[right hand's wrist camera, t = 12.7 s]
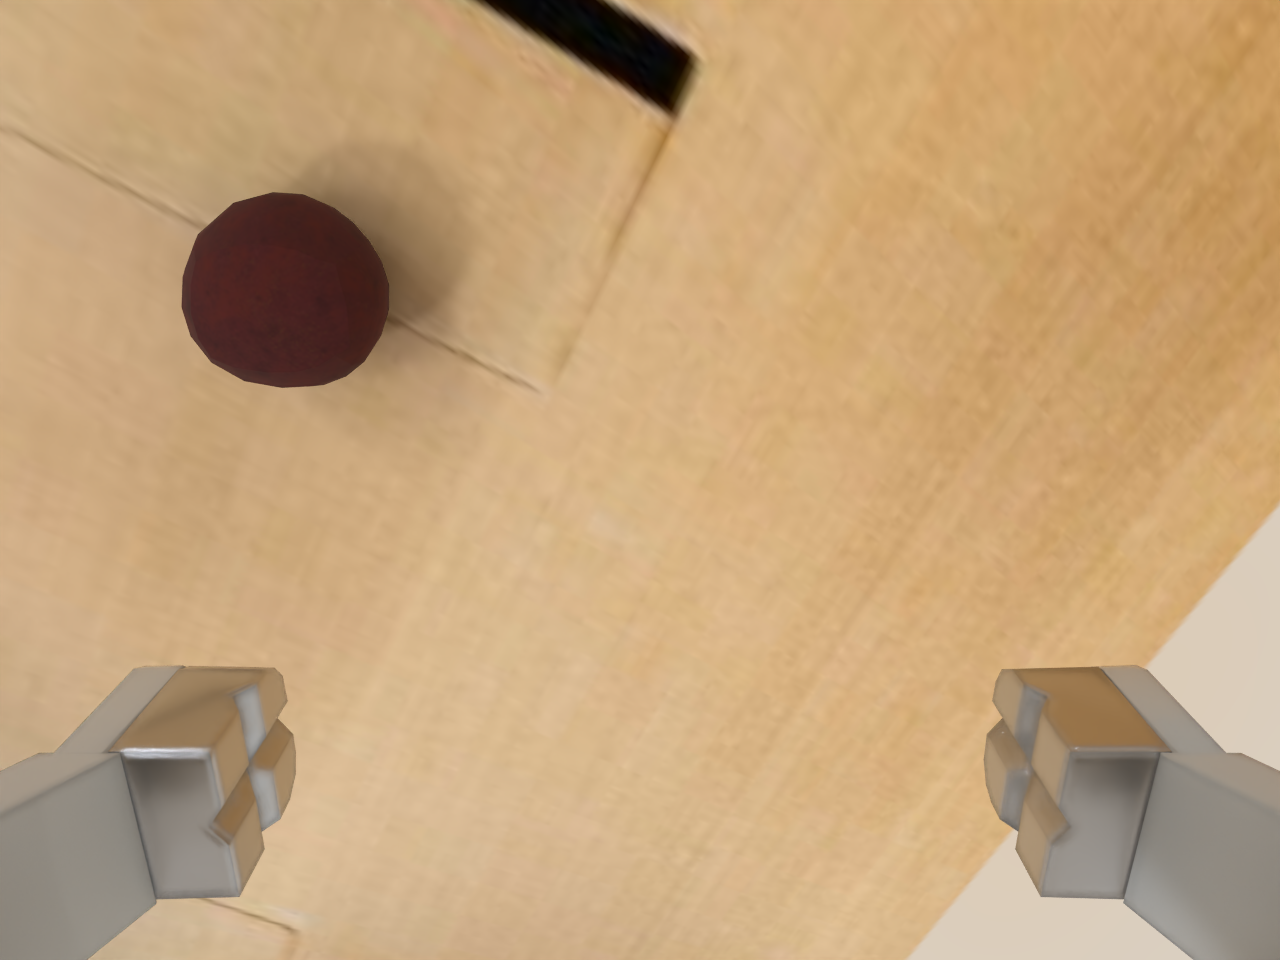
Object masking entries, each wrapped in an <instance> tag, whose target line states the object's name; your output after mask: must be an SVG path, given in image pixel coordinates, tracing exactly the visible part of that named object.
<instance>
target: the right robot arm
mask: <svg viewBox="0 0 1280 960" xmlns="http://www.w3.org/2000/svg"><path fill="white" fill-rule="evenodd" d="M287 701H288V700H287V695H286V691H285V686H284V681H283V676H282V675H281V674H280V673H279V672H278V671H277V670H276V669H275V668H263V667H213V666H188V667H185V666H144V667H139V668H135V669H133V670H132V671H131V672H130V673H129V674H128V675H127V676H126V677H125V679H124V680H123V681H122V682H121V683H120V684H119V685H118V686H117V687H116V688H115V689H114V690H113V691H112V692H111V693H110V694H109V695H108V696H107V697H106V699H105V700H104V701H103V702H102V703H101V704H100V705H99V706H98V707H97V708H96V709H95V710H94V711H93V712H92V713H91V714H90V715H89V716H88V717H87V719H86V720H85V721H84V722H83V723H82V724H81V725H80V726H79V727H78V728H77V729H76V730H75V731H74V732H73V733H72V734H71V735H70V736H69V737H68V739H67V740H66V741H65V742H64V743H63V744H62V745H61V746H60V747H59V748H58V749H57V750H56V751H55V752H54V753H38V754H36V755H34V756H32V757H29V758H27V759H25V760H23V761H21V762H19V763H17V764H14V765H12V766H10V767H8V768H6V769H4V770H2V771H0V960H87V959H88V958H90V957H91V956H92V955H93V954H95V953H96V952H97V951H98V950H99V949H101V948H102V947H103V946H104V945H106V944H107V943H108V942H109V941H111V940H112V939H113V938H114V937H116V936H117V935H118V934H119V933H121V932H122V931H123V930H124V929H126V928H127V927H128V926H129V925H130V924H132V923H133V922H134V921H135V920H137V919H138V918H139V917H140V916H142V915H143V914H144V913H145V912H147V911H148V910H149V909H150V908H152V907H153V906H154V905H155V904H156V899H181V898H216V897H240V895H241V893H242V891H243V889H244V887H245V885H246V883H247V881H248V880H249V878H250V876H251V874H252V872H253V870H254V868H255V866H256V864H257V863H258V861H259V859H260V857H261V855H262V853H263V851H264V843H263V837H262V831H263V830H265V829H266V828H268V827H269V826H271V825H272V824H274V823H275V822H277V821H278V820H280V819H281V817H282V815H283V812H284V810H285V808H286V806H287V804H288V802H289V800H290V797H291V792H292V788H293V783H294V779H295V774H296V751H295V744H294V737H293V734H292V733H291V732H290V731H289V730H288V729H287V728H286V727H285V725H284V724H283V723H282V722H281V721H280V720H279V719H278V716H279V714H280V713H281V711H282V709H283V708H284V706H285V704H286V703H287ZM992 701H993V703H994V704H995V706H996V708H997V709H998V711H999V713H1000V714H1001V716H1002V719H1001V720H1000V721H999V722H998V723H997V724H996V725H995V726H994V728H993V729H992V730H991V731H990V732H989V733H988V734H987V738H986V746H985V753H984V768H985V779H986V786H987V789H988V793H989V796H990V799H991V803H992V805H993V807H994V809H995V811H996V813H997V815H998V817H999V819H1000V820H1002V821H1003V822H1005V823H1006V824H1008V825H1009V826H1011V827H1012V828H1014V829H1015V830H1017V831H1018V837H1017V843H1016V851H1017V853H1018V855H1019V857H1020V859H1021V861H1022V862H1023V864H1024V866H1025V868H1026V870H1027V872H1028V874H1029V876H1030V878H1031V879H1032V881H1033V883H1034V885H1035V887H1036V889H1037V891H1038V893H1039V894H1040V896H1041V897H1062V898H1098V899H1124V902H1123V903H1124V904H1125V905H1126V906H1128V907H1129V908H1130V909H1131V910H1133V911H1134V912H1135V913H1136V914H1138V915H1139V916H1140V917H1141V918H1142V919H1144V920H1145V921H1146V922H1147V923H1149V924H1150V925H1151V926H1152V927H1154V928H1155V929H1156V930H1157V931H1159V932H1160V933H1161V934H1162V935H1164V936H1165V937H1166V938H1167V939H1168V940H1170V941H1171V942H1172V943H1173V944H1175V945H1176V946H1177V947H1178V948H1180V949H1181V950H1182V951H1183V952H1185V953H1186V954H1187V955H1188V956H1190V957H1191V958H1192V959H1193V960H1280V771H1278V770H1276V769H1274V768H1272V767H1270V766H1268V765H1265V764H1263V763H1261V762H1259V761H1257V760H1255V759H1253V758H1251V757H1248V756H1246V755H1244V754H1242V753H1226V752H1225V751H1224V750H1223V749H1222V748H1221V747H1220V746H1219V745H1218V744H1217V743H1216V742H1215V741H1214V740H1213V738H1212V737H1211V736H1210V735H1209V734H1208V733H1207V732H1206V731H1205V730H1204V729H1203V728H1202V727H1201V726H1200V725H1199V724H1198V723H1197V722H1196V721H1195V719H1194V718H1193V717H1192V716H1191V715H1190V714H1189V713H1188V712H1187V711H1186V710H1185V709H1184V708H1183V707H1182V706H1181V705H1180V704H1179V703H1178V702H1177V700H1176V699H1175V698H1174V697H1173V696H1172V695H1171V694H1170V693H1169V692H1168V691H1167V690H1166V689H1165V688H1164V687H1163V686H1162V685H1161V684H1160V683H1159V682H1158V680H1157V679H1156V678H1155V677H1154V676H1153V675H1152V674H1151V673H1150V672H1149V671H1148V670H1146V669H1144V668H1142V667H1139V666H1137V665H1125V666H1098V667H1074V668H1033V669H1002V670H1001V672H1000V674H999V676H998V678H997V680H996V683H995V689H994V695H993V700H992Z"/></svg>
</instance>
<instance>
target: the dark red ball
mask: <svg viewBox="0 0 1280 960" xmlns="http://www.w3.org/2000/svg"><path fill="white" fill-rule="evenodd" d="M182 310H183V313H184V316H185V319H186V323H187V326H188V329H189V332H190V335H191V337H192V338H193V340H194V341H195V342H196V343H197V345H198V346H199V347H200V349H201V350H202V351H203V352H204V354H205V355H206V356H207V357H208V359H209V360H210V361H211V362H212V363H213V364H215V365H217V366H219V367H220V368H222V369H224V370H226V371H227V372H229V373H231V374H233V375H235V376H236V377H238V378H240V379H242V380H244V381H247V382H253V383H258V384H264V385H270V386H275V387H281V388H285V387H304V386H317V385H325V384H327V383H330V382H332V381H335V380H338V379H340V378H343V377H345V376H347V375H348V374H349V373H351V372H352V371H353V370H354V369H356V368H357V367H358V366H359V365H361V364H362V363H363V362H364V361H365V360H366V358H367V357H368V355H369V353H370V352H371V350H372V349H373V347H374V346H375V344H376V343H377V341H378V339H379V338H380V336H381V334H382V331H383V327H384V324H385V321H386V317H387V314H388V310H389V284H388V280H387V277H386V274H385V271H384V268H383V265H382V262H381V260H380V258H379V257H378V255H377V253H376V252H375V250H374V248H373V247H372V245H371V243H370V242H369V240H368V239H367V238H366V237H365V236H364V235H363V234H362V232H361V231H360V230H359V229H358V228H357V227H356V226H355V224H354V223H353V222H352V221H350V220H349V219H348V218H346V217H345V216H344V215H343V214H341V213H340V212H339V211H337V210H336V209H335V208H333V207H331V206H328V205H326V204H324V203H322V202H319V201H317V200H315V199H312V198H310V197H308V196H306V195H303V194H289V193H275V192H272V193H269V194H265V195H261V196H257V197H254V198H250V199H246V200H243V201H239V202H235V203H233V204H232V205H231V206H230V207H228V208H227V209H226V210H225V211H224V212H223V213H222V214H221V215H219V216H218V217H217V218H216V219H215V220H214V221H213V222H211V223H210V224H209V225H208V226H207V227H206V228H205V229H204V230H202V231H201V232H200V233H199V234H198V236H197V238H196V241H195V243H194V246H193V248H192V251H191V254H190V257H189V259H188V262H187V265H186V268H185V271H184V275H183V285H182Z"/></svg>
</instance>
